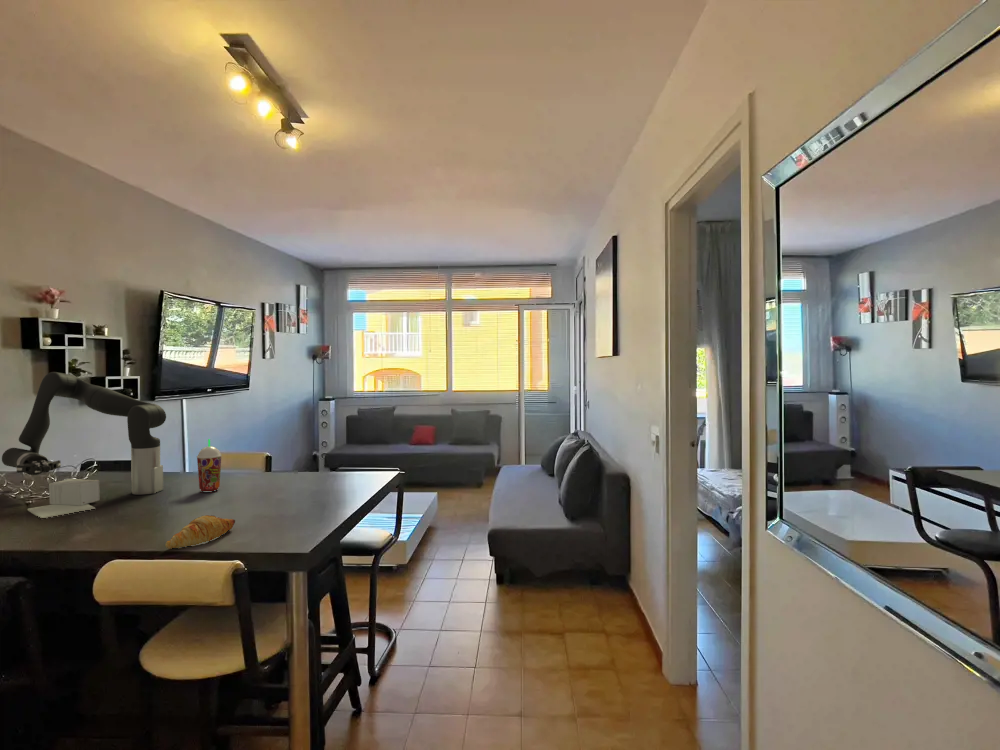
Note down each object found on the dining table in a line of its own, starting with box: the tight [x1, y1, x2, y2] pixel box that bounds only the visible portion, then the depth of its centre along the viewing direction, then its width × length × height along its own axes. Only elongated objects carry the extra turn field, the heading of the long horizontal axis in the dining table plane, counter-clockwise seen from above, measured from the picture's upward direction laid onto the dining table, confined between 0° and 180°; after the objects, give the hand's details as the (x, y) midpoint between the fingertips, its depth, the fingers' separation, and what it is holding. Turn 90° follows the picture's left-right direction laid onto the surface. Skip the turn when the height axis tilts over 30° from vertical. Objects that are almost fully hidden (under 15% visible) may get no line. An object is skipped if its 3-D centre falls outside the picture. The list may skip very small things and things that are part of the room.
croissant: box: [164, 514, 236, 550], centre depth 150 cm, size 21×10×8 cm, turn 159°
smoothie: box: [196, 438, 222, 492], centre depth 205 cm, size 8×8×20 cm
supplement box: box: [48, 478, 101, 506], centre depth 186 cm, size 7×7×13 cm
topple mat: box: [27, 503, 96, 519], centre depth 179 cm, size 16×14×1 cm
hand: (46, 469), depth 188 cm, fingers closed
